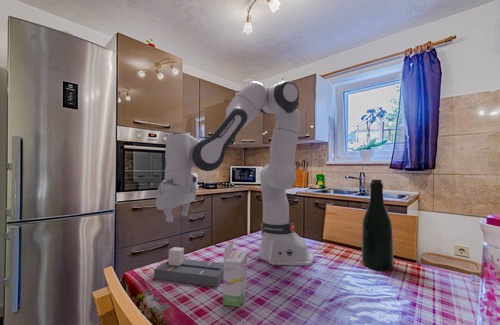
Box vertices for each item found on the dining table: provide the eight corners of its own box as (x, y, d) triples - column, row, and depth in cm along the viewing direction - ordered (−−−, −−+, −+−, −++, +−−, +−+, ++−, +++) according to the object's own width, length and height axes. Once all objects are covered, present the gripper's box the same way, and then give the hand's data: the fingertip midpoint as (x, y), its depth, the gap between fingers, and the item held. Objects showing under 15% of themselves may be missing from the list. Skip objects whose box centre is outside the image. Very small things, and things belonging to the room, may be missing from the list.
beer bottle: (384, 260, 89) (383, 179, 90) (399, 272, 78) (398, 180, 80) (357, 259, 90) (357, 178, 91) (368, 270, 79) (368, 179, 81)
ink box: (240, 308, 57) (241, 250, 58) (222, 305, 58) (223, 249, 59) (247, 290, 66) (248, 240, 66) (231, 288, 67) (232, 239, 67)
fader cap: (183, 266, 77) (184, 248, 77) (179, 270, 74) (179, 251, 74) (173, 265, 78) (173, 247, 78) (168, 269, 75) (168, 250, 75)
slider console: (227, 272, 77) (227, 263, 77) (217, 287, 67) (217, 276, 67) (171, 265, 82) (171, 257, 82) (154, 278, 72) (154, 269, 72)
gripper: (169, 180, 66) (168, 226, 66) (199, 177, 86) (198, 213, 86) (151, 179, 68) (150, 225, 67) (184, 177, 87) (183, 212, 87)
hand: (177, 218), depth 77 cm, fingers open, 8 cm apart
